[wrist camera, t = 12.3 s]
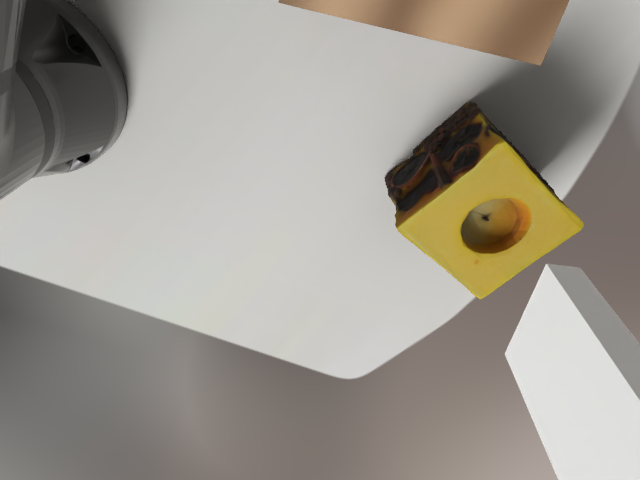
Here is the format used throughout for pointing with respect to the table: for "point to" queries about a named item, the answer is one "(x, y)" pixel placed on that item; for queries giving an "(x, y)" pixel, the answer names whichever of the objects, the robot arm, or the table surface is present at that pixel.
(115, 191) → the table surface
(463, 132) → the candle
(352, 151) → the table surface
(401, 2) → the wooden side table
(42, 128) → the robot arm
